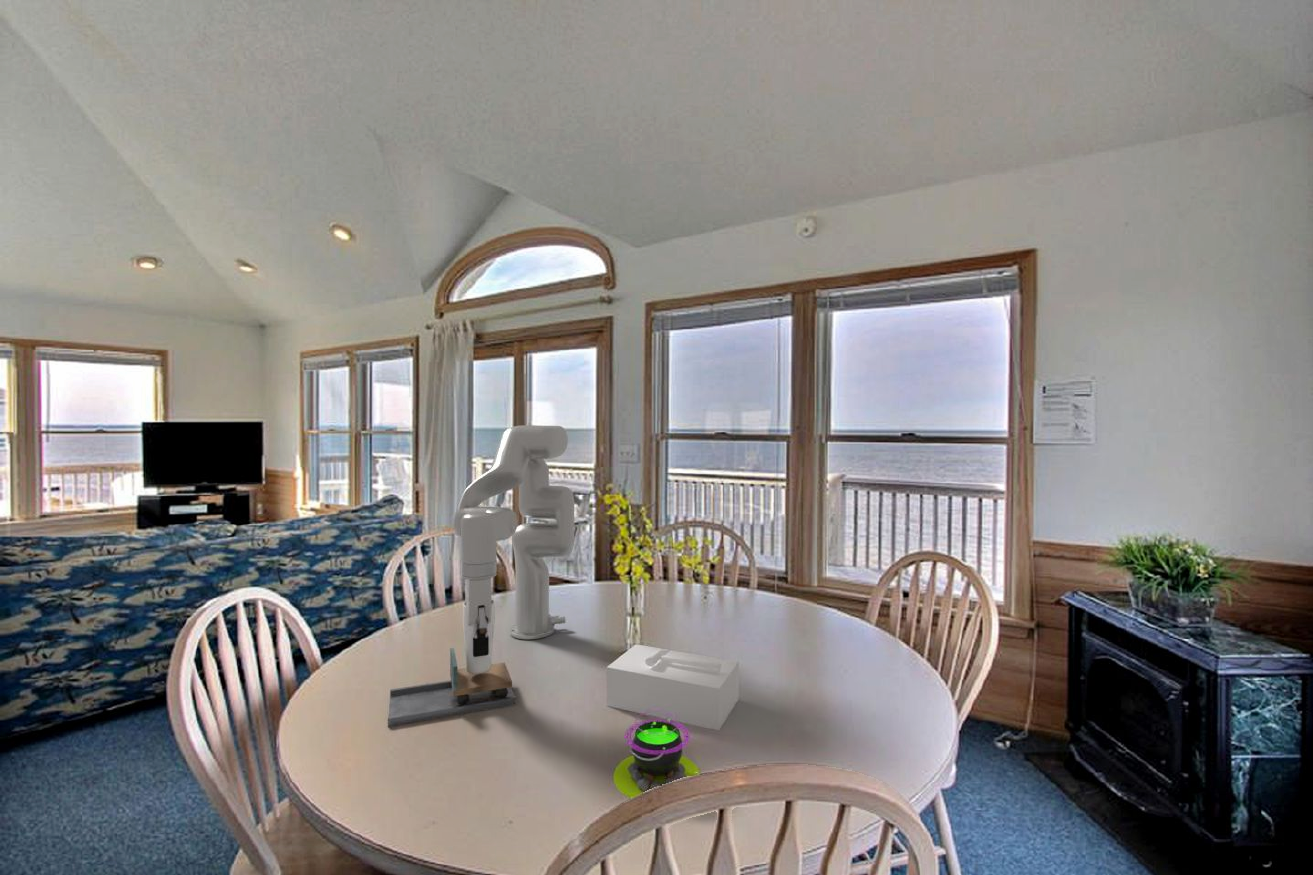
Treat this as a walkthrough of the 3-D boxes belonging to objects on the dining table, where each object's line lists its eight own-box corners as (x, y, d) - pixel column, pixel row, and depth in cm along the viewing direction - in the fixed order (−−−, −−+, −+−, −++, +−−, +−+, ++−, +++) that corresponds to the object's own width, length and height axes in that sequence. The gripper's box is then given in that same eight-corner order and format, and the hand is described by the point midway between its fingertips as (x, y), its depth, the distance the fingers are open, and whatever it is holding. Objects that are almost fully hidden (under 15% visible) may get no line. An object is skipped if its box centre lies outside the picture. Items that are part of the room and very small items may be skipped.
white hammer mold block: (635, 680, 139) (635, 634, 138) (738, 700, 129) (738, 651, 128) (606, 707, 125) (606, 656, 125) (718, 731, 115) (719, 676, 115)
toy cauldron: (606, 758, 106) (607, 697, 106) (686, 747, 109) (686, 689, 109) (622, 811, 91) (622, 741, 91) (713, 796, 95) (713, 729, 95)
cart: (504, 677, 137) (504, 641, 137) (512, 697, 127) (512, 658, 126) (450, 686, 132) (450, 648, 132) (453, 707, 122) (453, 666, 122)
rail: (506, 678, 138) (506, 671, 138) (516, 704, 125) (516, 697, 125) (390, 696, 129) (390, 689, 129) (387, 726, 116) (387, 718, 116)
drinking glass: (499, 664, 132) (499, 598, 132) (487, 677, 126) (487, 607, 125) (470, 663, 133) (470, 597, 133) (457, 675, 126) (457, 606, 126)
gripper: (458, 561, 135) (458, 638, 136) (464, 580, 119) (464, 667, 120) (491, 559, 138) (491, 634, 139) (501, 576, 122) (502, 662, 123)
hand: (479, 649), depth 129 cm, fingers closed on drinking glass, 6 cm apart
